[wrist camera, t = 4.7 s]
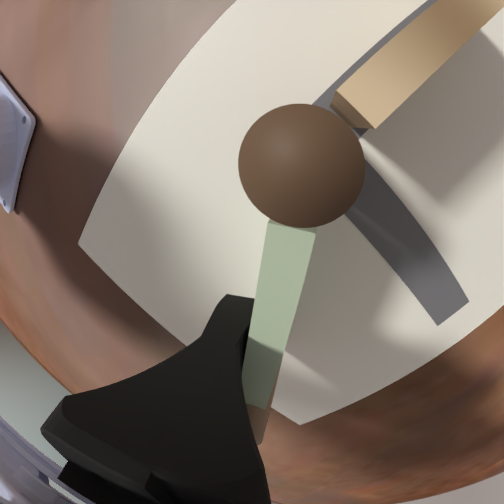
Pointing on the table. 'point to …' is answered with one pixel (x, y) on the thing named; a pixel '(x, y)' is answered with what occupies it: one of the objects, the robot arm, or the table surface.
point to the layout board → (336, 232)
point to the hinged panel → (273, 316)
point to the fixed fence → (347, 120)
